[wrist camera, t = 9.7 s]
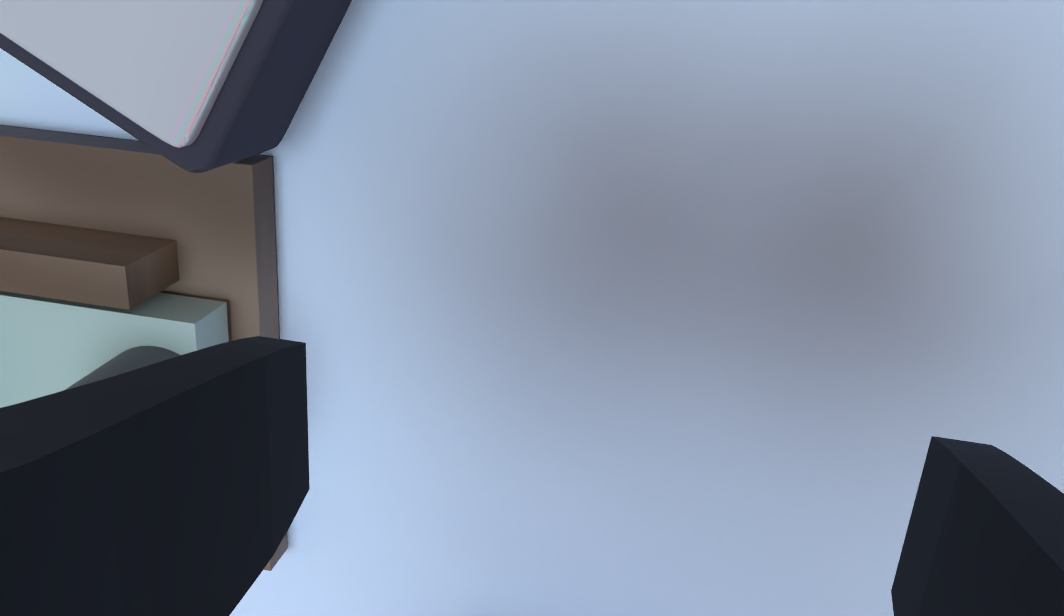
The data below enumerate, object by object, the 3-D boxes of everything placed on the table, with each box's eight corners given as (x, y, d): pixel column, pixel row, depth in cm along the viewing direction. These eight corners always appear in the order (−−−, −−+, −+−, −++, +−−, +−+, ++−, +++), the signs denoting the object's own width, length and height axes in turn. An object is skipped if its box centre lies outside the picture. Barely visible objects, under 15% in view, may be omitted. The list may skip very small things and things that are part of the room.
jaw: (254, 467, 23) (112, 619, 18) (-10, 421, 24) (-216, 551, 19) (246, 305, 21) (87, 419, 16) (-37, 264, 23) (-271, 358, 17)
